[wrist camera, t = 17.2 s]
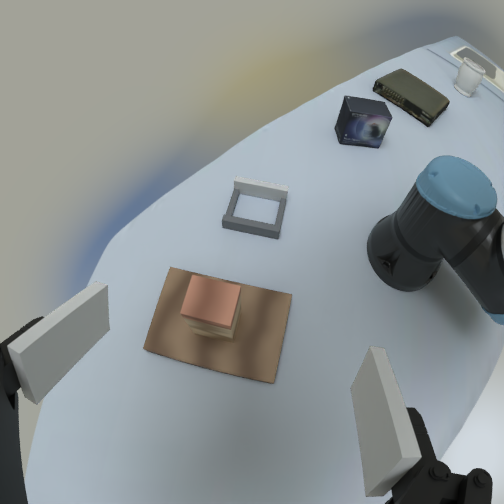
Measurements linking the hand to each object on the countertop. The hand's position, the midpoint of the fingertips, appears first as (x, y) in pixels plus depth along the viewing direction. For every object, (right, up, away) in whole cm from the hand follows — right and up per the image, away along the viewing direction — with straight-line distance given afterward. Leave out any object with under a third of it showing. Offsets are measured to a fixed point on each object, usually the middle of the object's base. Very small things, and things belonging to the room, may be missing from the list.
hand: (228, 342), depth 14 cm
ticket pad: (-4, -6, +31) cm, 32 cm away
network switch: (+53, +53, +66) cm, 100 cm away
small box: (+26, +32, +54) cm, 68 cm away
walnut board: (-4, -7, +33) cm, 34 cm away
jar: (+88, +70, +76) cm, 136 cm away
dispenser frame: (+2, +12, +43) cm, 44 cm away
